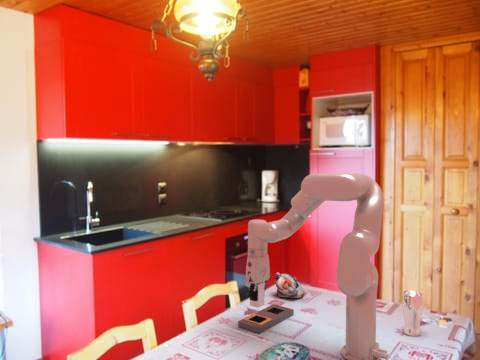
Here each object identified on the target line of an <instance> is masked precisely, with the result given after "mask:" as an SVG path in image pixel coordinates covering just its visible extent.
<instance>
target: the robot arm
mask: <svg viewBox="0 0 480 360" xmlns="http://www.w3.org/2000/svg"><path fill="white" fill-rule="evenodd" d="M383 194H384V193H383V190H382V189H381V187H380V185H379V184H378V183H377V181H376V180H374V179H373V178H372V177H370V176H369V175H366V174H364V173H348V174H347V173H343V174H327V173H322V172H321V173H320V172H319V173H309V174H308V175H307V176H305V177H304V178H303V180H302V181H301V184H300V190H299V191H298V192H297V193H296V194H295V195H294V196H293V197H292V198H291V200H290V205H291V208H290V210H289V211H288V212H287V213H286V214H285V215H284V216H283V217H282V218H281V219H278V220H273V221H269V222H267V220H264V219H251V220H249V221H248V225H247V259H246V267H245V268H246V269H245V280H246V281H245V282H244V286H245V287H247V288H248V290H249V301H250V300H253V301H257V291H256V288H257V284H258V283H261V282H264V296H266V295H265V292H266V291H265V288H266V284H267V281H268V280H269V279H270V276H271V271H270V269H271V267H270V257H269V254H268V243H270V244H271V243H272V244H273V243H276V242H280V241H282V240H286V239H288V238H289V237H291V236H292V235H293V234H294V233H296V232H297V231H298V230H299V229H300V228H301V227H302V226H303V225H304V224H305V222H306V221H307V219H309V216H310V215H312V213H313V212H314V211H315V210H316V209H318V208H319V207H320V206H321V205H322V204H323V203H324V202H326V201H329V202H352V201H356V202H357V203H356V207H355V211H354V217H353V218H354V221H353V227H352V230H351V232H348V233H347V234H346V235H344V237H343V238H342V239H341V242H340V245H339V252H338V259H337V260H338V261H337V268H336V269H337V270H336V285H337V286H338V289H339V291H340V292H341V293H342V294H343V295H345V296H346V298H345V345H343V346H342V347H341V348H340V354H341V356H342V357H343V359H346V360H381V359H383V360H388V359H389V355H390V354H389V353H388V350H387V349H383V348H380V344H379V342H377V334H376V333H377V299H378V298H377V296H378V286H379V272H378V269H377V267H376V266H375V264H374V263H373V262H371V258H372V257H373V256H374V255H376V254H377V252H378V251H379V248H380V242H381V241H380V240H381V233H382V231H381V230H382V224H383V215H384V214H383V211H384V195H383ZM252 284H254V286H253V285H252Z"/></svg>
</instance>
